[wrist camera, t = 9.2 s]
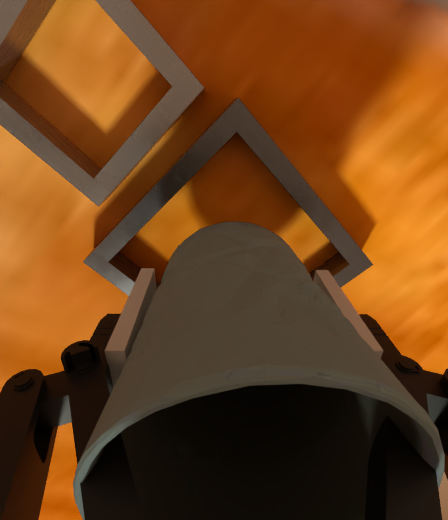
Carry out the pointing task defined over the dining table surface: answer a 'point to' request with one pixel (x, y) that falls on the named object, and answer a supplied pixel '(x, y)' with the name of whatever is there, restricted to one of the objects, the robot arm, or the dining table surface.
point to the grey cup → (251, 391)
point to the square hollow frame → (216, 135)
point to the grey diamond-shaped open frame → (51, 140)
